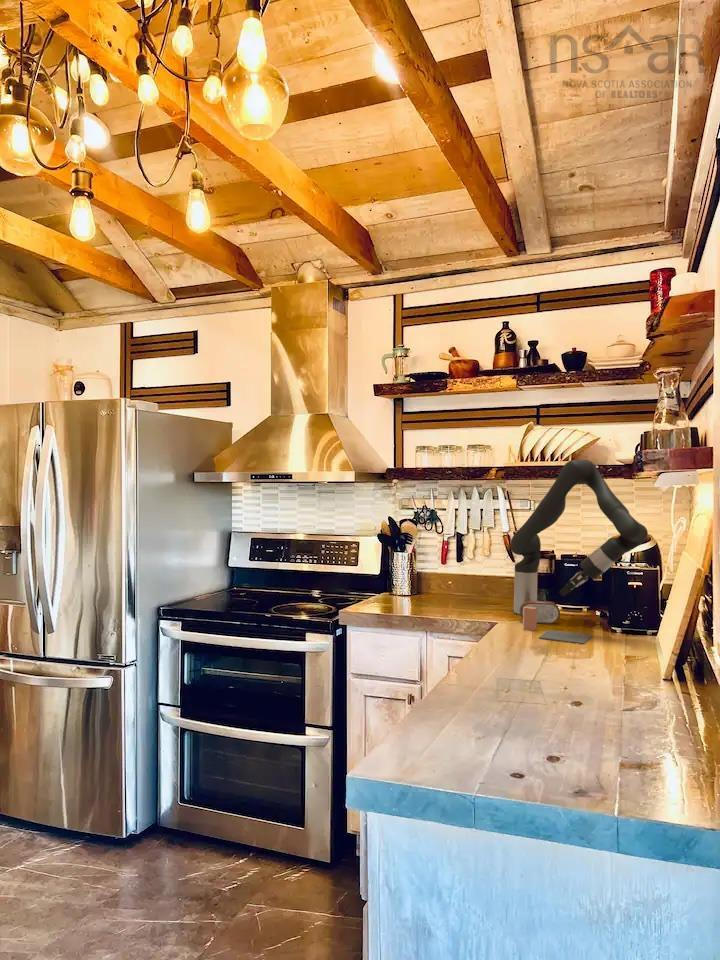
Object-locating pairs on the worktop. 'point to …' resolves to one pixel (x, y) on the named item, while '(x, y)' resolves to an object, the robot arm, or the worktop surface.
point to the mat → (565, 637)
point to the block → (530, 618)
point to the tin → (543, 611)
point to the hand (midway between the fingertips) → (563, 592)
